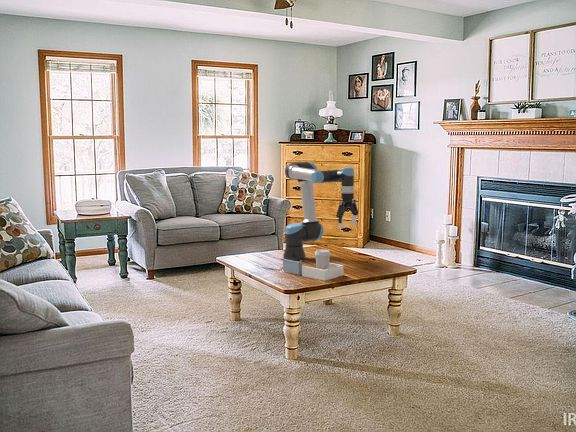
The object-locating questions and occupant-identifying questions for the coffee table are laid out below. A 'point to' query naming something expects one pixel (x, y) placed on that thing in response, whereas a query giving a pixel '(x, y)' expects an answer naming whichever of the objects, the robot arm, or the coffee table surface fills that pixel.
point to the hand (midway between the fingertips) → (347, 226)
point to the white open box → (322, 272)
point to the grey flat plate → (291, 266)
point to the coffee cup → (322, 259)
